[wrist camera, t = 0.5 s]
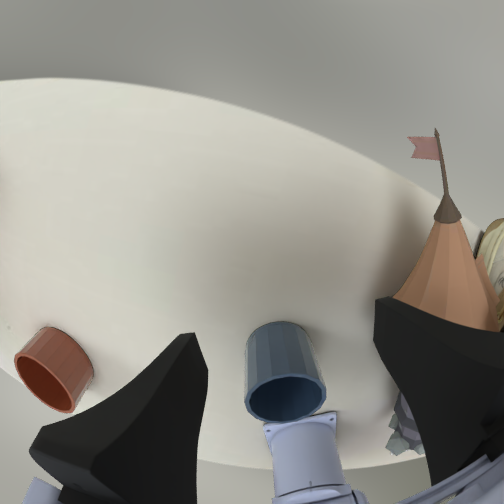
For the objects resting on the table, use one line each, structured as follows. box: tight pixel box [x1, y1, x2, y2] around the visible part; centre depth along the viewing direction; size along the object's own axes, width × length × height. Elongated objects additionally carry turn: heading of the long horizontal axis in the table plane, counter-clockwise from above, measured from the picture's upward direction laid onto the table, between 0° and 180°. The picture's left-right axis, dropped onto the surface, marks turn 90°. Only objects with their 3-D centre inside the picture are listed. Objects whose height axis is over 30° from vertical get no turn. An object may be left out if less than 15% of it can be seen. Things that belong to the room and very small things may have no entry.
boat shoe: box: [476, 218, 504, 333], centre depth 18 cm, size 25×9×9 cm, turn 6°
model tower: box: [386, 128, 500, 456], centre depth 16 cm, size 10×11×30 cm
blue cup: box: [244, 322, 326, 424], centre depth 19 cm, size 5×5×6 cm
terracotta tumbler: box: [14, 327, 93, 413], centre depth 20 cm, size 8×8×5 cm
